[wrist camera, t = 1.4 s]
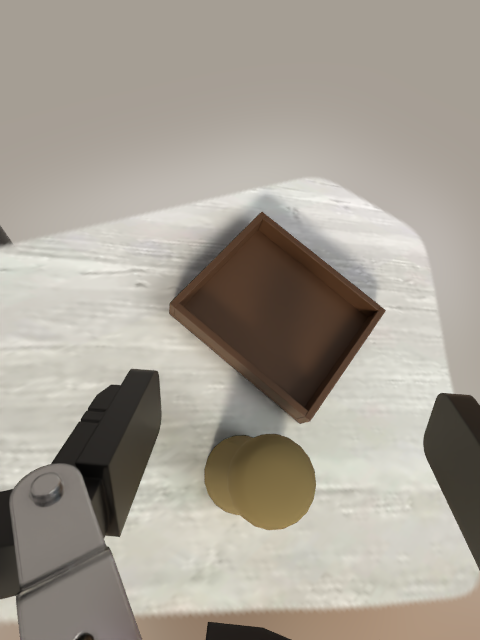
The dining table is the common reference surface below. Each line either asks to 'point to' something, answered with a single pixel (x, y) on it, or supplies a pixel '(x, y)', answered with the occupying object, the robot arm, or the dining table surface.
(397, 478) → the dining table surface
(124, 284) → the dining table surface
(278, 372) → the tray
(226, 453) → the cork
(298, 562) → the dining table surface
